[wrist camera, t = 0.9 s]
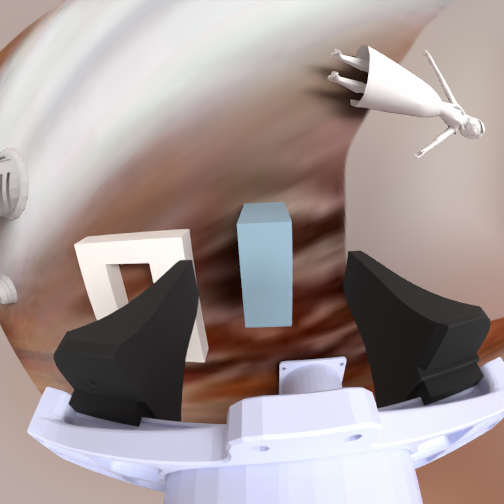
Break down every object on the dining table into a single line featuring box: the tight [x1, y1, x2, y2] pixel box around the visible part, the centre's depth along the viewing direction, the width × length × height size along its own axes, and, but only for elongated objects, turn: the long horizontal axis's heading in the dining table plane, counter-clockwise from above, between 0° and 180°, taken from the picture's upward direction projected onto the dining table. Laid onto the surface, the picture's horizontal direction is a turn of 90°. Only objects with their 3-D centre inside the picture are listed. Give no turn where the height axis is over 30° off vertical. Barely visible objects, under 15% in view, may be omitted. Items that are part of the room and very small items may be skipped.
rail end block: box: [237, 202, 292, 327], centre depth 22 cm, size 8×4×7 cm, turn 3°
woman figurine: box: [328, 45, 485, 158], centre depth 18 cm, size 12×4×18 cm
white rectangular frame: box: [74, 229, 208, 362], centre depth 27 cm, size 14×12×2 cm
